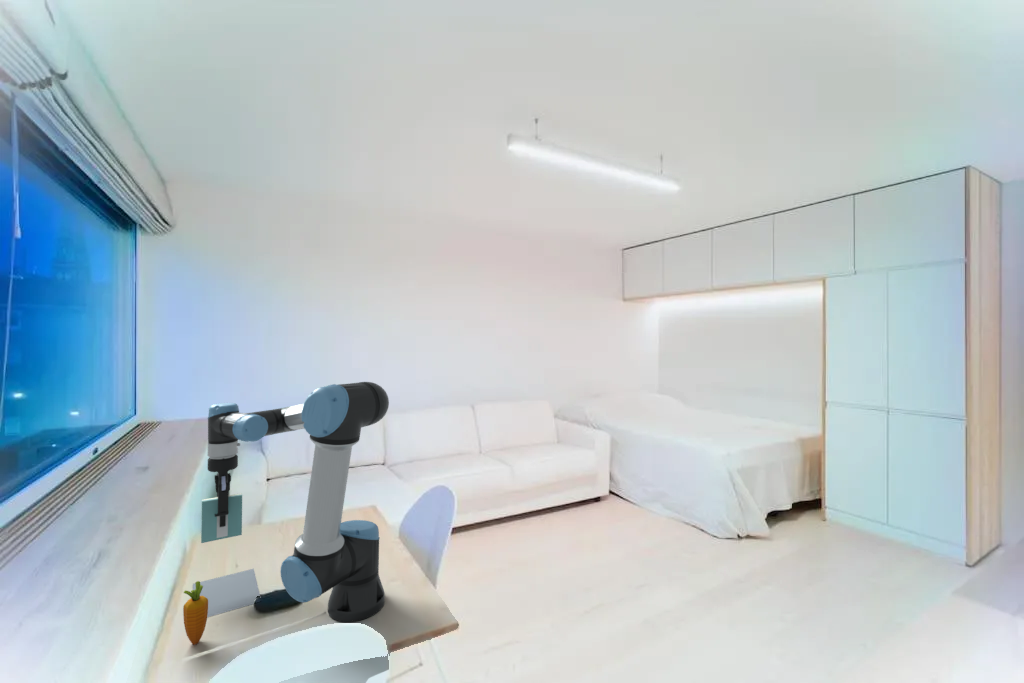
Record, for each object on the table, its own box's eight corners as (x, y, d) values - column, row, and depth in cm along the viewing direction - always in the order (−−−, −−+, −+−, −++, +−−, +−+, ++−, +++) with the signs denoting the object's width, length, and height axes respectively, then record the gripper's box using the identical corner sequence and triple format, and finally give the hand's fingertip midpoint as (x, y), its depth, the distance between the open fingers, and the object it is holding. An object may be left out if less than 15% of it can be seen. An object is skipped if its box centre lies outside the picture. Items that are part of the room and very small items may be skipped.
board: (241, 534, 134) (242, 495, 134) (201, 543, 128) (201, 501, 128) (241, 532, 136) (241, 493, 136) (201, 540, 130) (201, 499, 130)
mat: (261, 603, 126) (261, 601, 126) (191, 624, 117) (191, 621, 117) (253, 570, 144) (253, 568, 144) (192, 585, 135) (192, 583, 135)
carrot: (195, 653, 106) (195, 590, 106) (177, 650, 107) (178, 588, 107) (212, 639, 111) (213, 579, 111) (195, 637, 112) (196, 577, 111)
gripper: (239, 459, 128) (238, 541, 128) (236, 448, 140) (235, 523, 140) (208, 463, 124) (207, 548, 124) (207, 451, 136) (206, 528, 136)
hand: (221, 534), depth 132 cm, fingers closed on board, 2 cm apart
